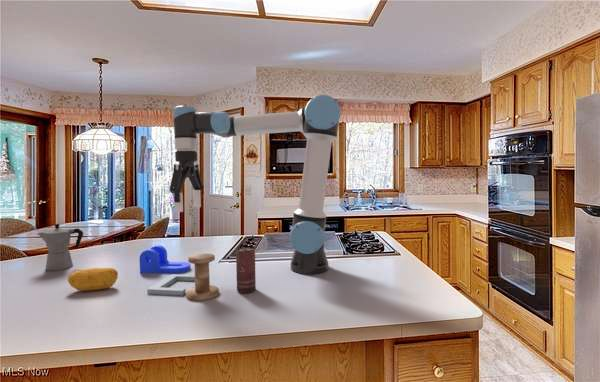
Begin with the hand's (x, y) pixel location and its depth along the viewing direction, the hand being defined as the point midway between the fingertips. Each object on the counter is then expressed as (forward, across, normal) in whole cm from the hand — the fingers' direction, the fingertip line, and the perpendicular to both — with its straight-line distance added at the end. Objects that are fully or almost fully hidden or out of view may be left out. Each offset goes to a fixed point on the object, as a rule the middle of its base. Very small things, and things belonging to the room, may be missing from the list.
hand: (188, 209), depth 119 cm
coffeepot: (+25, -5, -59) cm, 64 cm away
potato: (+25, +16, -27) cm, 40 cm away
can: (+26, +10, +24) cm, 37 cm away
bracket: (+26, -8, -14) cm, 30 cm away
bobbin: (+25, +15, +11) cm, 32 cm away
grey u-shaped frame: (+25, +9, -1) cm, 27 cm away
